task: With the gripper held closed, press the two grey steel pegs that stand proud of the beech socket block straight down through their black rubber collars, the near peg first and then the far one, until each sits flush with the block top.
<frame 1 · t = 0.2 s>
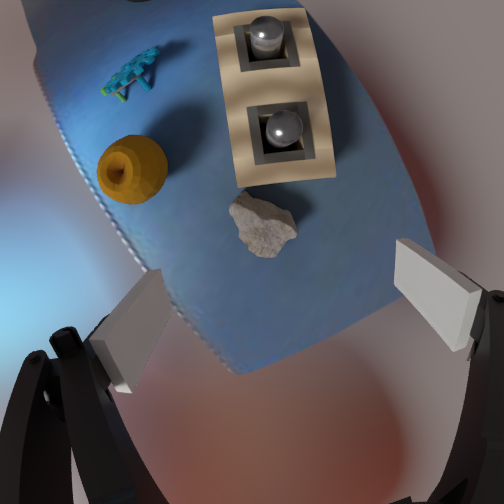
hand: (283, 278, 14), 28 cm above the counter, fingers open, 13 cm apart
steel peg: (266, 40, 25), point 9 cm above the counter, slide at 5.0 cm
stone: (260, 219, 42), on the counter
socket block: (271, 100, 35), on the counter
teal knobby branched piece: (138, 77, 34), on the counter
apple: (149, 167, 39), on the counter
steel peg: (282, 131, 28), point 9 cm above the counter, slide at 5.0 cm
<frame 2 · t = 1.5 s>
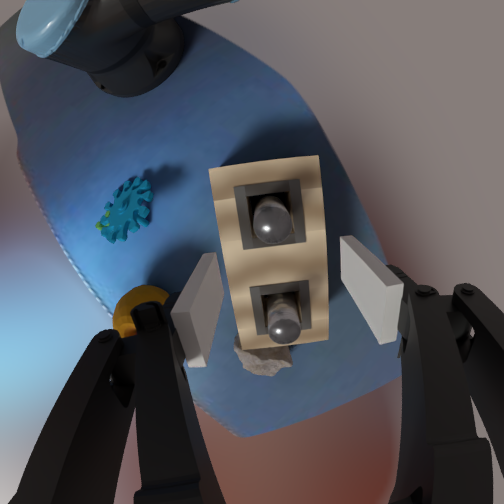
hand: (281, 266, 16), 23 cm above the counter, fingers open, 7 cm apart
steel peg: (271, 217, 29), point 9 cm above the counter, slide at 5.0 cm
stone: (261, 343, 46), on the counter
socket block: (273, 244, 39), on the counter
teal knobby branched piece: (134, 206, 38), on the counter
apple: (157, 299, 43), on the counter
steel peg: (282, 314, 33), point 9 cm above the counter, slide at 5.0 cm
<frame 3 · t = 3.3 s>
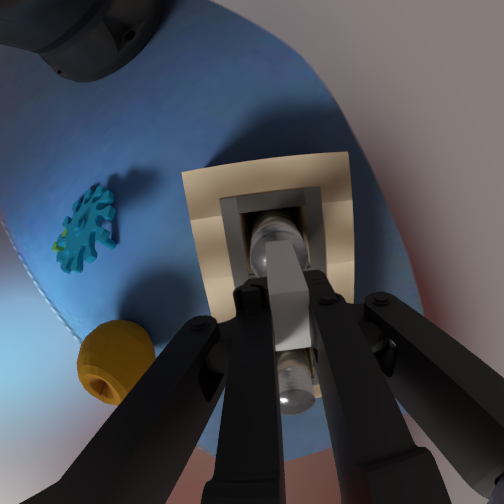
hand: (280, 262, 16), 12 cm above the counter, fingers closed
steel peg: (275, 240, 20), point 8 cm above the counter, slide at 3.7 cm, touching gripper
socket block: (277, 271, 30), on the counter
teal knobby branched piece: (98, 221, 28), on the counter
apple: (134, 333, 33), on the counter
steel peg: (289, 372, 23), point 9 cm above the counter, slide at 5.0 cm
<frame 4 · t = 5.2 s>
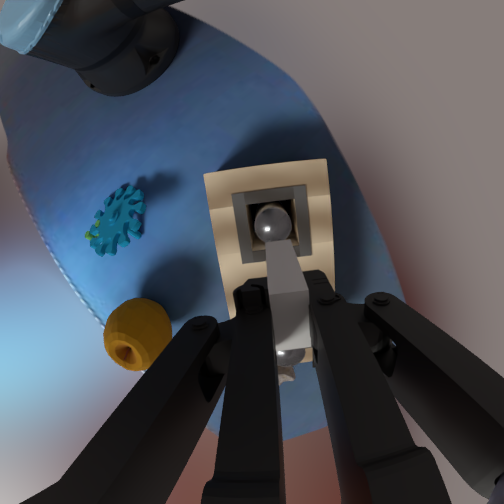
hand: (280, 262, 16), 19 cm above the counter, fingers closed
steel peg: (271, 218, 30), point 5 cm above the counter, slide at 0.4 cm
stone: (261, 356, 42), on the counter
socket block: (275, 255, 36), on the counter
teal knobby branched piece: (126, 215, 35), on the counter
apple: (152, 312, 40), on the counter
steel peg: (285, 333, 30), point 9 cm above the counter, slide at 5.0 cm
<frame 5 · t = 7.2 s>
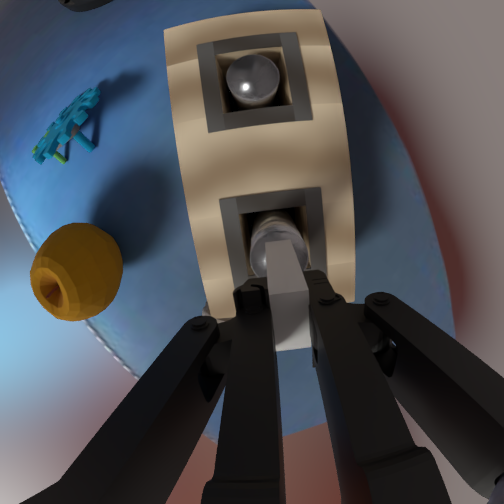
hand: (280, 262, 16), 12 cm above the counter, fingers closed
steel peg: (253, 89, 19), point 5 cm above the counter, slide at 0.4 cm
socket block: (263, 158, 25), on the counter
teal knobby branched piece: (81, 127, 24), on the counter
apple: (104, 251, 29), on the counter
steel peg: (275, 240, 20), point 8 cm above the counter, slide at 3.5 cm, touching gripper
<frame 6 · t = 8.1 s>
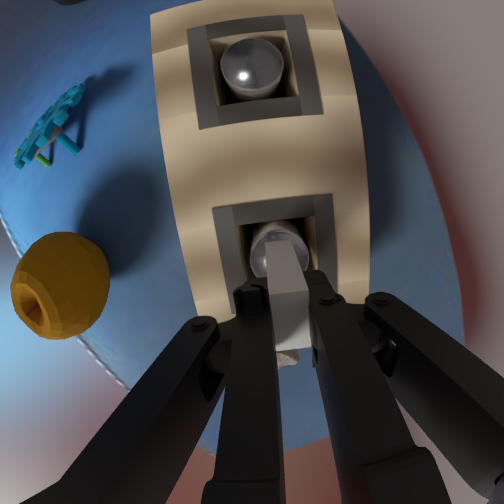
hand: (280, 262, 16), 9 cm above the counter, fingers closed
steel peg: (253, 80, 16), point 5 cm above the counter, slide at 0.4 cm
stone: (246, 327, 29), on the counter
socket block: (264, 159, 23), on the counter
teal knobby branched piece: (66, 128, 22), on the counter
apple: (91, 261, 26), on the counter
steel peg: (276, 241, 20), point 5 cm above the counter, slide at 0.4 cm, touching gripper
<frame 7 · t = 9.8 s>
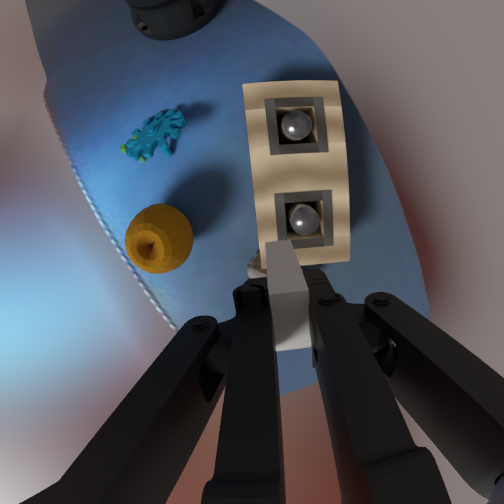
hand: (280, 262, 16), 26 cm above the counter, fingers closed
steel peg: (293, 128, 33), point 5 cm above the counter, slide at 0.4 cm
stone: (275, 274, 45), on the counter
socket block: (293, 171, 40), on the counter
teal knobby branched piece: (160, 137, 39), on the counter
apple: (172, 228, 43), on the counter
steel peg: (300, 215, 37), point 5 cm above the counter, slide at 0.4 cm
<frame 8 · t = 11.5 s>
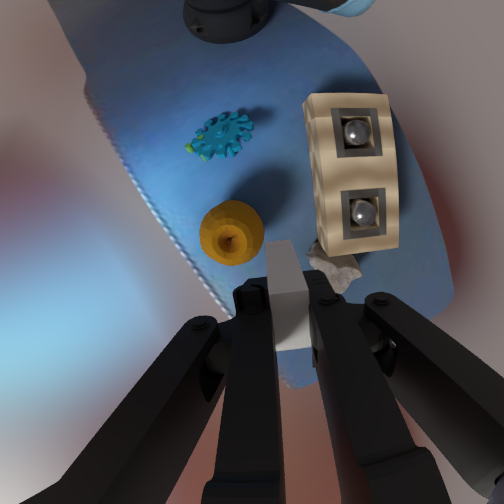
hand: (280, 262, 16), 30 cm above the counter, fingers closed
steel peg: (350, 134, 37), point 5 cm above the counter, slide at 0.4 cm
stone: (328, 262, 49), on the counter
socket block: (345, 170, 43), on the counter
teal knobby branched piece: (222, 137, 42), on the counter
apple: (235, 223, 47), on the counter
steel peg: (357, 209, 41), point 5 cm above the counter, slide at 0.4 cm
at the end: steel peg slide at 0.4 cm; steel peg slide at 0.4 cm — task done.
